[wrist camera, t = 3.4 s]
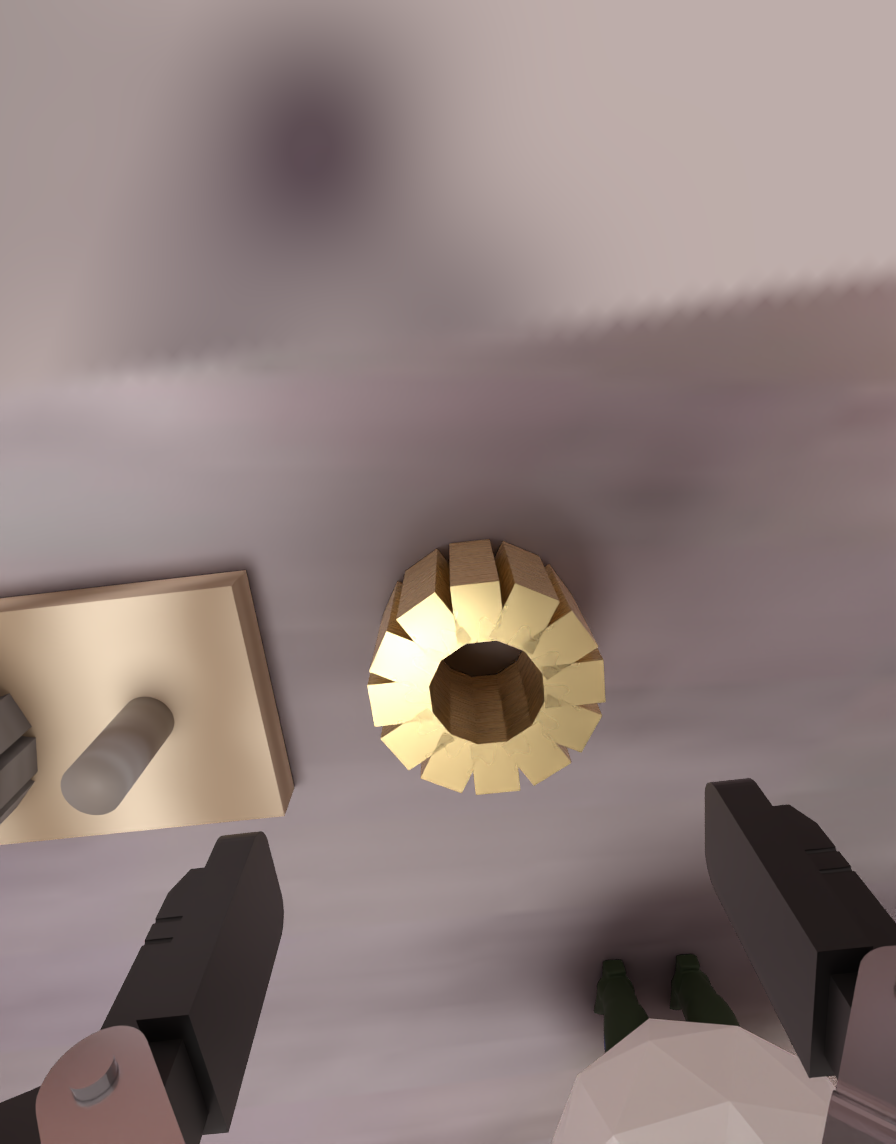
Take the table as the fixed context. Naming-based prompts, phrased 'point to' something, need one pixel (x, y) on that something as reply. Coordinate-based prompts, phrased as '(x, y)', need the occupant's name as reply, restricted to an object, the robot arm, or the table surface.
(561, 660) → the brass gear
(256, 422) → the table surface
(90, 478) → the table surface
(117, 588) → the gear board
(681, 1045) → the figurine
